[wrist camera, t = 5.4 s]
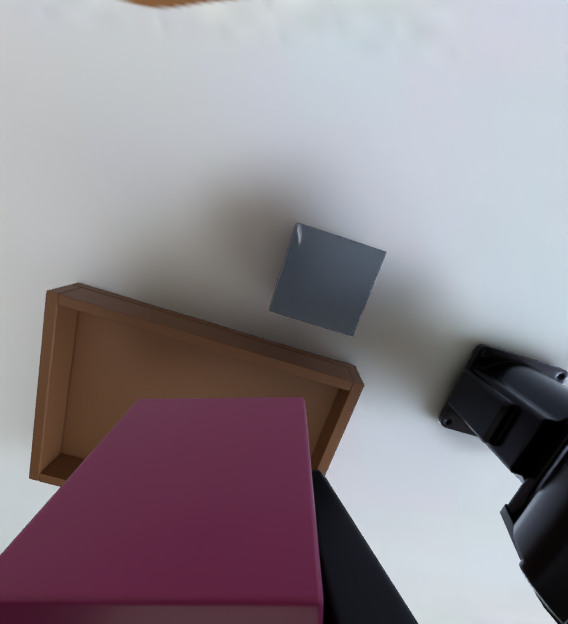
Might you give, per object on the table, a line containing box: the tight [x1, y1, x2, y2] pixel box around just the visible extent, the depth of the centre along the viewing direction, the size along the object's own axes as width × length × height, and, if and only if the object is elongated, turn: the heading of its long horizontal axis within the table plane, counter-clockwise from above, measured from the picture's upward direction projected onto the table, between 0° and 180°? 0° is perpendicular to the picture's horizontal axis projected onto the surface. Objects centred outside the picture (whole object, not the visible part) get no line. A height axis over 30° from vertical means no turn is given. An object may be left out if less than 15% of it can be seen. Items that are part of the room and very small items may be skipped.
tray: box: [29, 283, 364, 487], centre depth 20 cm, size 19×14×3 cm
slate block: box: [269, 223, 386, 336], centre depth 16 cm, size 4×4×4 cm
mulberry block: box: [0, 397, 323, 624], centre depth 6 cm, size 4×4×4 cm
